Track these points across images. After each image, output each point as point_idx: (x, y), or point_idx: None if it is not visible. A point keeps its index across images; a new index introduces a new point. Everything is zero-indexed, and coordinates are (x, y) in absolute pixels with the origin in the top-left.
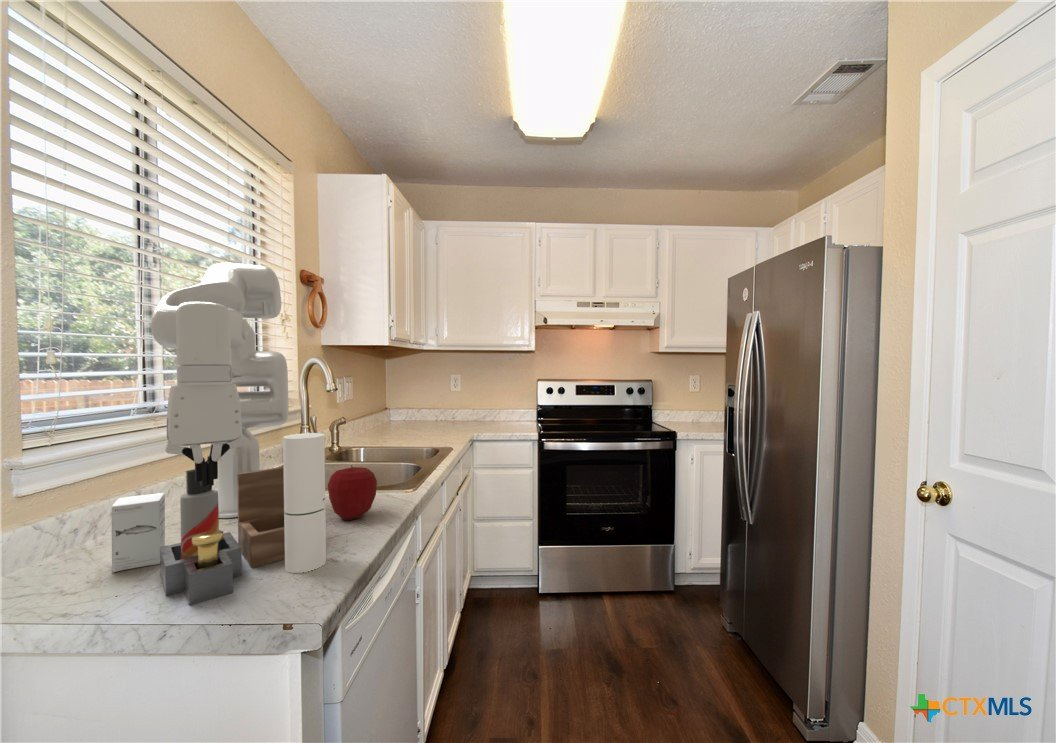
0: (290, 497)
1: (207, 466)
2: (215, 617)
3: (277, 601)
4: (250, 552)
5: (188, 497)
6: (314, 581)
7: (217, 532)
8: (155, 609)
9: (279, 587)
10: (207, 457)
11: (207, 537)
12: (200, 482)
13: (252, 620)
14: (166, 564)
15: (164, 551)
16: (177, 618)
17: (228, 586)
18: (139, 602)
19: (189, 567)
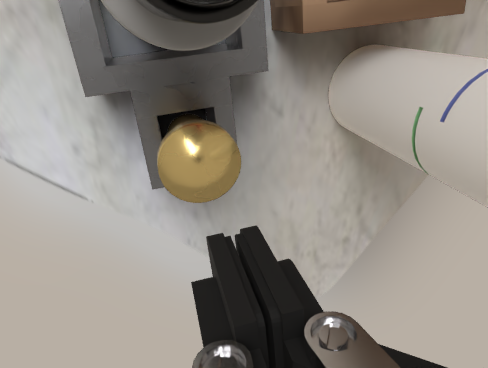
0: (459, 184)
1: (269, 361)
2: (196, 232)
3: (286, 225)
4: (283, 15)
5: (132, 29)
6: (353, 181)
7: (225, 156)
8: (88, 144)
9: (300, 173)
10: (292, 360)
11: (200, 189)
12: (212, 269)
13: None
14: (85, 82)
15: None
16: (136, 205)
17: None
18: (42, 84)
19: (149, 143)
